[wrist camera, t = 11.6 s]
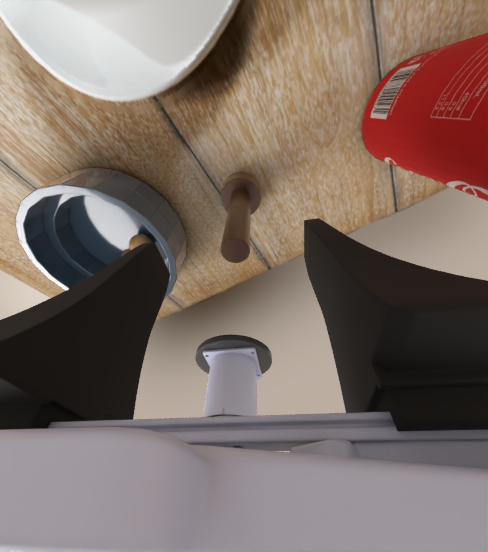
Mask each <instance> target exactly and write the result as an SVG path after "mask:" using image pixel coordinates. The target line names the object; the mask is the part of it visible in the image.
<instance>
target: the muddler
mask: <svg viewBox="0 0 488 552" xmlns="http://www.w3.org/2000/svg"><path fill="white" fill-rule="evenodd" d="M260 200H261V195H260V187H259V184H258V182H257V180H256V179H255V178H254V177H253V176H251V175H250V174H248V173H243V172H239V173H235V174H232V175H231V176H229V177H228V178H227V179H226V181H225V183H224V185H223V188H222V192H221V202H222V205H223V207H224V208H225V210H226V211H227V212H228V214H227V219H226V224H225V229H224V234H223V239H222V244H221V254H222V256H223V257H224V258H225V259H226V260H227V261H229V262H233V263H239V262H242V261H244V260H245V259H247V257H248V256H249V253H250V215H251V214H252V213H254V212H255V211H256V210H257V208H258V207H259V204H260Z"/></svg>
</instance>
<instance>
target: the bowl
mask: <svg viewBox="0 0 488 552" xmlns="http://www.w3.org/2000/svg"><path fill="white" fill-rule="evenodd" d="M15 225H16V230H17V235H18V240H19V242H20V244H21V245H22V247H23V249H24V250H25V252H26V254H27V255H28V257H29V259H30V260H31V261H32V262H33V264H34V265H35V266H36V267H37V268H38V269H39V270H40V271H41V272H42V273H43V274H44V275H45V276H46V277H47V278H49V279H50V280H52V281H53V282H54V283H56V284H57V285H59V286H60V287H61V288H63V289H64V290H68V289H70V288H72V287H74V286H76V285H77V284H79V283H81V282H83V281H84V280H86V279H88V278H89V277H91V276H92V275H94V274H95V273H97V272H99V271H100V270H102V269H103V268H105V267H106V266H108V265H109V264H111V263H112V262H114V261H115V260H117V259H118V258H120V257H121V256H122V253H123V252H124V251H125V250H126V249H129V248H130V247H129V241H130V239H131V238H132V237H133V236H134V235H137V234H143V235H146V236H148V237H149V238H150V239H151V241H152V242H155V244H156V246H157V248H158V250H159V252H160V254H161V256H162V258H163V260H164V262H165V264H166V266H167V268H168V270H169V272H170V278H169V284H168V288H167V292H166V294H165V297H167V296H168V295H169V294H170V293H171V292H172V289H173V287H174V284H175V282H176V279H177V277H178V274H179V272H180V269H181V267H182V264H183V261H184V259H185V256H186V254H187V242H186V234H185V232H184V229H183V226H182V224H181V221H180V219H179V217H178V215H177V214H176V213H175V211H174V210H173V209H172V208H171V206H170V205H169V204H168V202H167V201H166V200H165V199H164V198H163V197H162V196H161V195H159V194H158V193H157V192H156V191H154V190H153V189H152V188H151V187H149V186H148V185H147V184H146V183H144V182H142V181H140V180H138V179H136V178H133V177H131V176H129V175H127V174H125V173H122V172H120V171H116V170H109V169H103V168H96V167H94V168H88V169H83V170H78V171H73V172H71V173H69V174H67V175H65V176H62V177H60V178H58V179H56V180H54V181H52V182H50V183H48V184H45V185H43V186H41V187H39V188H37V189H35V190H34V191H33V192H32V193H30V194H29V195H28V196H27V197H25V198H24V199H23V200H22V201H21V202H20V205H19V208H18V211H17V214H16V217H15ZM165 297H164V298H165Z"/></svg>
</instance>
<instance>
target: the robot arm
mask: <svg viewBox="0 0 488 552" xmlns="http://www.w3.org/2000/svg"><path fill="white" fill-rule="evenodd" d="M304 258H305V262H306V267H307V271H308V275H309V278H310V281H311V284H312V286H313V289H314V292H315V294H316V297H317V300H318V302H319V305H320V307H321V310H322V313H323V316H324V319H325V322H326V326H327V330H328V334H329V338H330V342H331V346H332V350H333V354H334V358H335V363H336V368H337V372H338V376H339V381H340V385H341V390H342V395H343V400H344V404H345V410H346V413H330V414H299V415H298V414H297V415H267V416H266V415H265V416H257V379H262V372H261V369H260V365H259V361H258V357H257V353H256V349H255V348H254V347H244V348H230V349H216V350H205V351H203V355H204V357H205V359H206V361H207V363H208V364H209V366H210V371H209V378H208V385H207V391H206V398H205V404H204V411H203V417H201V418H169V419H138V420H133V416H134V409H135V401H136V395H137V389H138V384H139V378H140V373H141V368H142V364H143V360H144V355H145V351H146V347H147V344H148V340H149V336H150V333H151V330H152V328H153V325H154V322H155V320H156V317H157V315H158V312H159V310H160V307H161V305H162V302H163V300H164V297H165V294H166V292H167V288H168V284H169V278H170V272H169V270H168V268H167V266H166V264H165V262H164V260H163V258H162V256H161V254H160V252H159V250H158V248H157V246H156V244H155V242H150V243H143V244H141V245H139V246H137V247H135V248H134V249H132V250H130V251H129V252H127V253H126V254H124V255H123V256H121V257H120V258H118V259H117V260H115V261H114V262H112V263H111V264H109V265H108V266H106V267H105V268H103V269H102V270H100V271H99V272H97V273H95V274H94V275H92V276H91V277H89V278H88V279H86V280H84V281H83V282H81V283H79V284H77V285H76V286H74V287H72V288H70V289H68V290H66V291H65V292H63V293H61V294H59V295H57V296H55V297H53V298H51V299H48V300H46V301H44V302H42V303H40V304H38V305H36V306H33V307H31V308H29V309H27V310H24V311H22V312H20V313H17V314H15V315H12V316H10V317H7V318H5V319H2V320H0V552H488V281H486V280H480V279H474V278H469V277H464V276H459V275H454V274H450V273H446V272H442V271H437V270H433V269H429V268H426V267H422V266H418V265H415V264H412V263H409V262H406V261H402V260H399V259H396V258H394V257H390V256H388V255H386V254H383V253H381V252H378V251H376V250H373V249H371V248H369V247H367V246H365V245H363V244H361V243H359V242H356V241H355V240H353V239H351V238H349V237H348V236H346V235H344V234H343V233H341V232H339V231H338V230H336V229H335V228H333V227H332V226H330V225H328V224H327V223H325V222H324V221H322V220H320V219H319V218H318V219H311V220H304ZM277 451H290V453H289V452H277Z"/></svg>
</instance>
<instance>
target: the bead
mask: <svg viewBox="0 0 488 552" xmlns="http://www.w3.org/2000/svg"><path fill="white" fill-rule="evenodd" d="M150 242H152V241H151V239H150V238H149V237H148V236H146V235H143V234H137V235H134V236H133V237H132V238H131V239H130V241H129V247H130V250H132V249H134V248H135V247H137V246H139V245H141V244H143V243H150Z"/></svg>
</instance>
